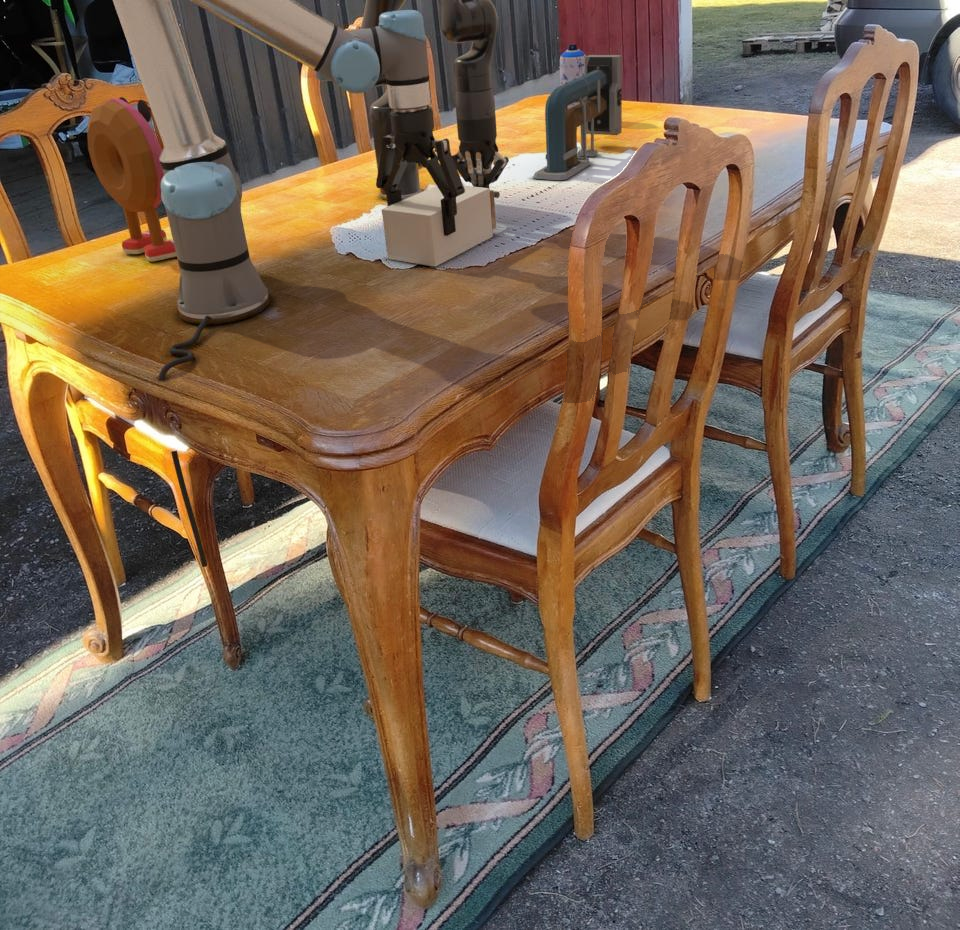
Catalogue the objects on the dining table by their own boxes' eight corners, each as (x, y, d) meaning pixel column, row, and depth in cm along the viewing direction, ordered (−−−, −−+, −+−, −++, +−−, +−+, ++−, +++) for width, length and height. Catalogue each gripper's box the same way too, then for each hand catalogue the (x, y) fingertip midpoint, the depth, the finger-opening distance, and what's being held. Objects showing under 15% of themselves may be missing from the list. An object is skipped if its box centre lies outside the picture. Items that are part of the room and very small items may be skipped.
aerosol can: (559, 122, 275) (557, 47, 265) (562, 117, 282) (559, 42, 272) (587, 121, 274) (585, 45, 263) (589, 115, 280) (587, 41, 270)
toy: (207, 253, 194) (172, 96, 178) (163, 268, 187) (122, 106, 172) (152, 236, 207) (115, 88, 191) (109, 250, 200) (67, 98, 185)
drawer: (470, 214, 200) (467, 178, 196) (511, 220, 195) (509, 183, 191) (401, 248, 184) (396, 209, 181) (443, 254, 179) (440, 215, 175)
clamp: (565, 180, 221) (562, 81, 210) (530, 178, 225) (526, 81, 214) (621, 144, 247) (621, 55, 236) (589, 143, 251) (588, 55, 240)
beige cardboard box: (446, 230, 196) (442, 183, 191) (492, 236, 190) (489, 188, 185) (387, 258, 183) (381, 209, 178) (435, 266, 177) (430, 215, 172)
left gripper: (478, 106, 166) (487, 230, 177) (373, 100, 178) (387, 217, 189) (453, 115, 161) (463, 243, 172) (346, 108, 173) (362, 228, 184)
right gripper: (515, 111, 184) (520, 202, 193) (459, 108, 191) (466, 195, 200) (493, 119, 179) (499, 212, 188) (436, 116, 186) (445, 205, 195)
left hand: (423, 229), depth 181 cm, fingers closed on beige cardboard box, 11 cm apart
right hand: (482, 203), depth 194 cm, fingers closed
